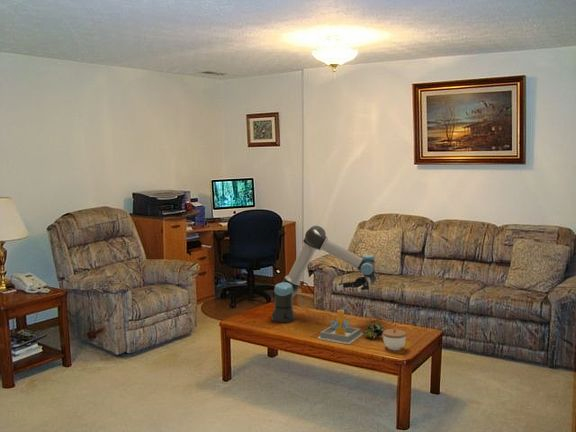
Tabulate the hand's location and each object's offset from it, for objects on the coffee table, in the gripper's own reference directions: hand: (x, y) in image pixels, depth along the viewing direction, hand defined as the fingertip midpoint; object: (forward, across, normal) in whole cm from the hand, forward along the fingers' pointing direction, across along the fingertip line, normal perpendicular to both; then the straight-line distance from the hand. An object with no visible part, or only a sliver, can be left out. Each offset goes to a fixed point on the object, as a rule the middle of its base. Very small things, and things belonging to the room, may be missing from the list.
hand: (347, 289), depth 348 cm
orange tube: (+13, 0, -25) cm, 28 cm away
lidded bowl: (+14, -34, -29) cm, 46 cm away
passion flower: (+4, -18, -28) cm, 33 cm away
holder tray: (+13, 0, -26) cm, 29 cm away
